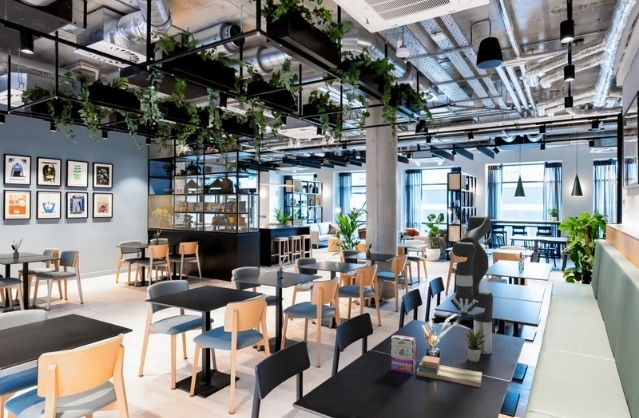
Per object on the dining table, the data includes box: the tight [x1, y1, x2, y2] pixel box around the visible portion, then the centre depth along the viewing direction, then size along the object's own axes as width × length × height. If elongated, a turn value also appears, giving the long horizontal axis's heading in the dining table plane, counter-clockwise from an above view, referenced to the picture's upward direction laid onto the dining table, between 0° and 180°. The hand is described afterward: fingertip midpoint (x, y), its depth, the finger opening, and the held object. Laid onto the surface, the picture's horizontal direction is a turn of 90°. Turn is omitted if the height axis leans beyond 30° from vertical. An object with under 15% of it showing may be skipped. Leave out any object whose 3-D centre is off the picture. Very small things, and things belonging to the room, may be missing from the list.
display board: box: [416, 355, 483, 388], centre depth 187 cm, size 12×28×5 cm, turn 64°
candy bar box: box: [390, 334, 417, 375], centre depth 192 cm, size 11×5×16 cm, turn 62°
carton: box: [423, 355, 441, 373], centre depth 190 cm, size 7×7×4 cm
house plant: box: [462, 327, 488, 363], centre depth 205 cm, size 14×14×16 cm
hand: (464, 319), depth 191 cm, fingers closed
